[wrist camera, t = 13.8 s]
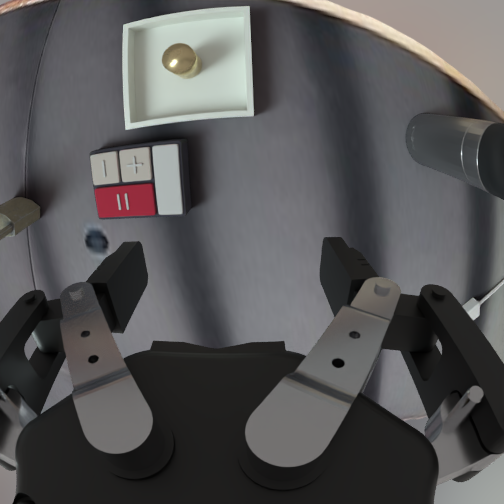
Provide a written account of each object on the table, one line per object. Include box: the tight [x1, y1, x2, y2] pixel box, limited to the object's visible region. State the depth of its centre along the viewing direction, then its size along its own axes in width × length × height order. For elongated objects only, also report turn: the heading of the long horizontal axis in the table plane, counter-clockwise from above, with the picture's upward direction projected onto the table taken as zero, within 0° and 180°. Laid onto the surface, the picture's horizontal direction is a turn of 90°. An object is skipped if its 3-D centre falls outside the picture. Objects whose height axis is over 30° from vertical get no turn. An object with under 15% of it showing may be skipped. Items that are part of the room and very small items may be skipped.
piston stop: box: [162, 43, 202, 79], centre depth 30 cm, size 4×4×6 cm
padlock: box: [0, 197, 40, 240], centre depth 34 cm, size 4×8×15 cm, turn 71°
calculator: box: [90, 139, 192, 219], centre depth 39 cm, size 11×4×15 cm
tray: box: [123, 6, 254, 130], centre depth 32 cm, size 18×17×4 cm
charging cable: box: [462, 280, 504, 320], centre depth 53 cm, size 5×32×3 cm, turn 122°
